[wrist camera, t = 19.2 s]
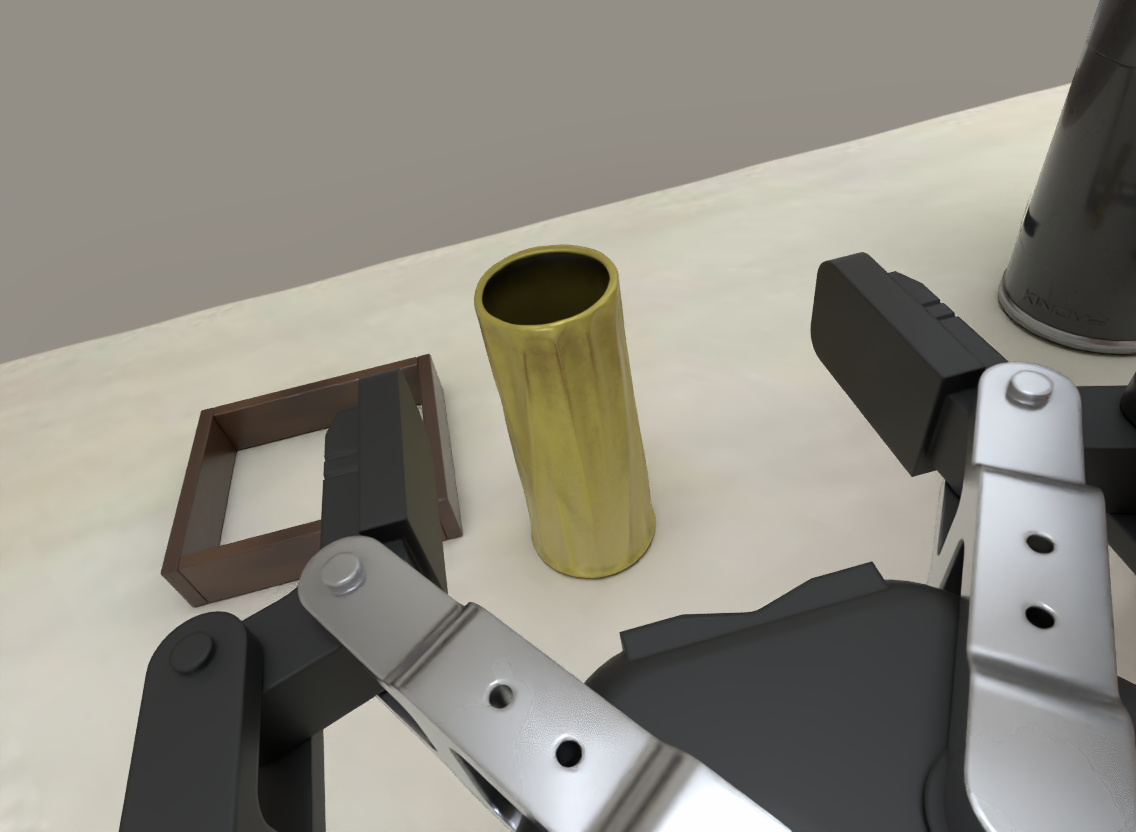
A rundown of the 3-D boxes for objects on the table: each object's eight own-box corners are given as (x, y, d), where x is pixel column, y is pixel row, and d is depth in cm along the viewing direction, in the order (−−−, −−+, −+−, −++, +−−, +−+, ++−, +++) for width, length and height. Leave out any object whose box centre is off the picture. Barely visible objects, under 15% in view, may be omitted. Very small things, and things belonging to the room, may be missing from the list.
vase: (548, 597, 32) (475, 357, 22) (520, 499, 36) (448, 262, 26) (674, 557, 32) (657, 305, 23) (631, 465, 37) (601, 221, 27)
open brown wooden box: (443, 390, 43) (430, 352, 41) (463, 536, 35) (447, 498, 33) (225, 445, 43) (200, 410, 40) (192, 608, 34) (159, 574, 32)
